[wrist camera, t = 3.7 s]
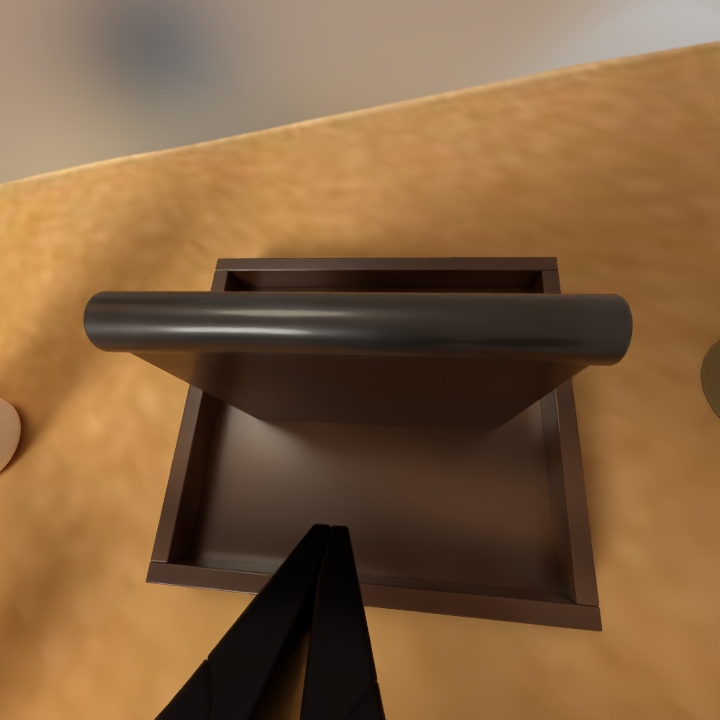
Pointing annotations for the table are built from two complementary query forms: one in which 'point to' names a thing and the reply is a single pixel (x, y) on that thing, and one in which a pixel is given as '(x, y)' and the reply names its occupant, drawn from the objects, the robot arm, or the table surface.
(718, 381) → the olive game pawn
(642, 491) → the table surface
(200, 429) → the tray
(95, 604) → the table surface
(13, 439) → the drinking glass
